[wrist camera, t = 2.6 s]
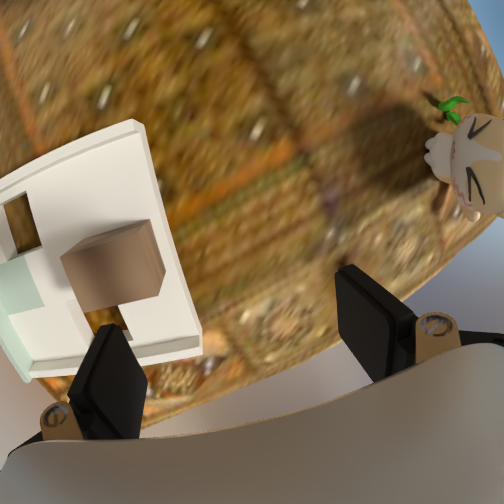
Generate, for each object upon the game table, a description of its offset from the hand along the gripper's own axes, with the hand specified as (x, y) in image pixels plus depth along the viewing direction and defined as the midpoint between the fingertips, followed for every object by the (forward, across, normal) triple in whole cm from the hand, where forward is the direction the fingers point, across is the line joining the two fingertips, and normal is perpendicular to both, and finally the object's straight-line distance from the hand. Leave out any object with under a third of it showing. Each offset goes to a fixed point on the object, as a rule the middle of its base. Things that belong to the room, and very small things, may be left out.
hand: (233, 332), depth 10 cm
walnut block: (+16, +9, 0) cm, 18 cm away
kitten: (+18, -29, -3) cm, 34 cm away
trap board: (+18, +16, 0) cm, 24 cm away
